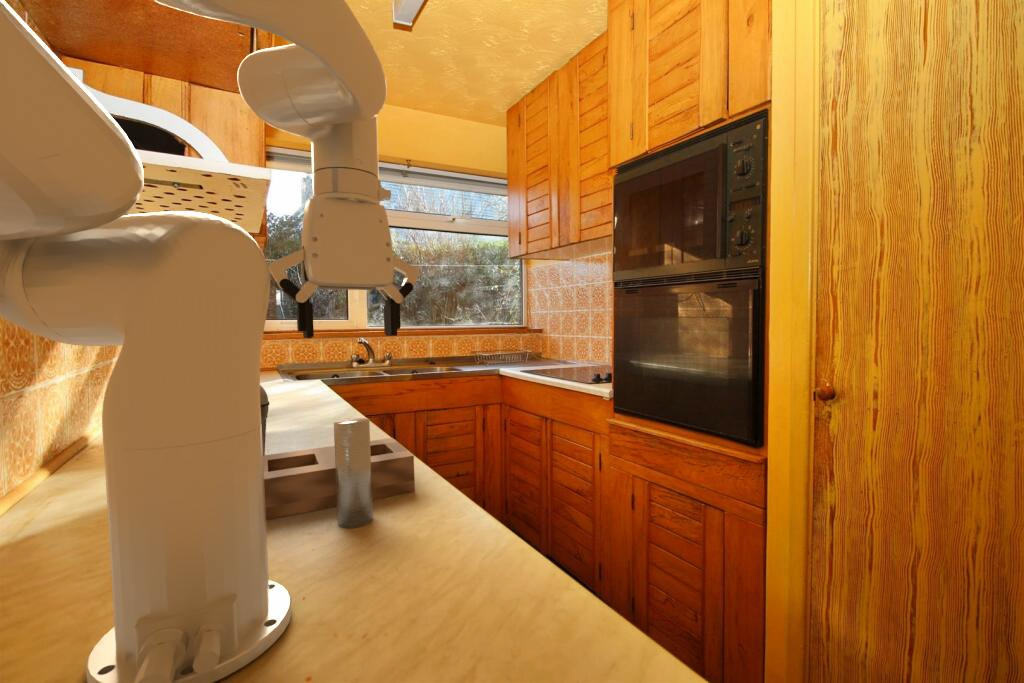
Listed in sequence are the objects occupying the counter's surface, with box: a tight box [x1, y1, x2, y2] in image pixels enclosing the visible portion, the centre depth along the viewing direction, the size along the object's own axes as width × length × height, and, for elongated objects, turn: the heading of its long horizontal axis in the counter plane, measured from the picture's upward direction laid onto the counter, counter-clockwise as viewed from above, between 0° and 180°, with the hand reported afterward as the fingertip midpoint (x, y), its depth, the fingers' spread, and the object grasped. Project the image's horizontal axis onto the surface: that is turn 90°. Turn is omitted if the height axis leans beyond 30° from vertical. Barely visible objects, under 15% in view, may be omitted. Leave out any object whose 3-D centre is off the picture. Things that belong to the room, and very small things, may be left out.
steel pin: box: [333, 417, 374, 529], centre depth 56 cm, size 4×4×12 cm
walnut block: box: [263, 437, 416, 521], centre depth 66 cm, size 20×12×5 cm, turn 118°
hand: (351, 336), depth 56 cm, fingers open, 9 cm apart
